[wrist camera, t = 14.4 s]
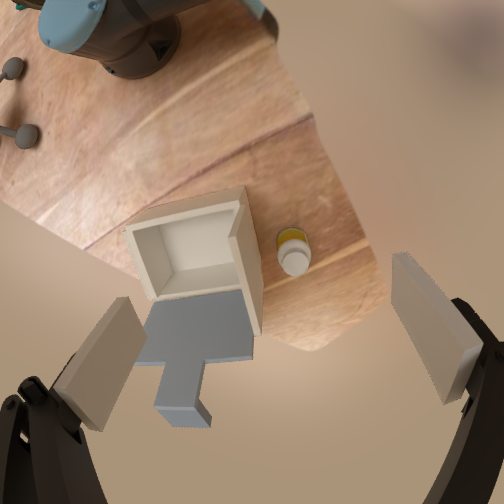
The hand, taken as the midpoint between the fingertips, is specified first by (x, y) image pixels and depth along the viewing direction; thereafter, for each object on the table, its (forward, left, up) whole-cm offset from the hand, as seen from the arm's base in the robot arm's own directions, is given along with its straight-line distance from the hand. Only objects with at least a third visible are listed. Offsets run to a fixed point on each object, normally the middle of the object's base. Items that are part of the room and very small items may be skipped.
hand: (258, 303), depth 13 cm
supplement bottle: (+12, +2, -37) cm, 39 cm away
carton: (+8, -13, -37) cm, 40 cm away
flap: (+15, -13, -16) cm, 26 cm away
